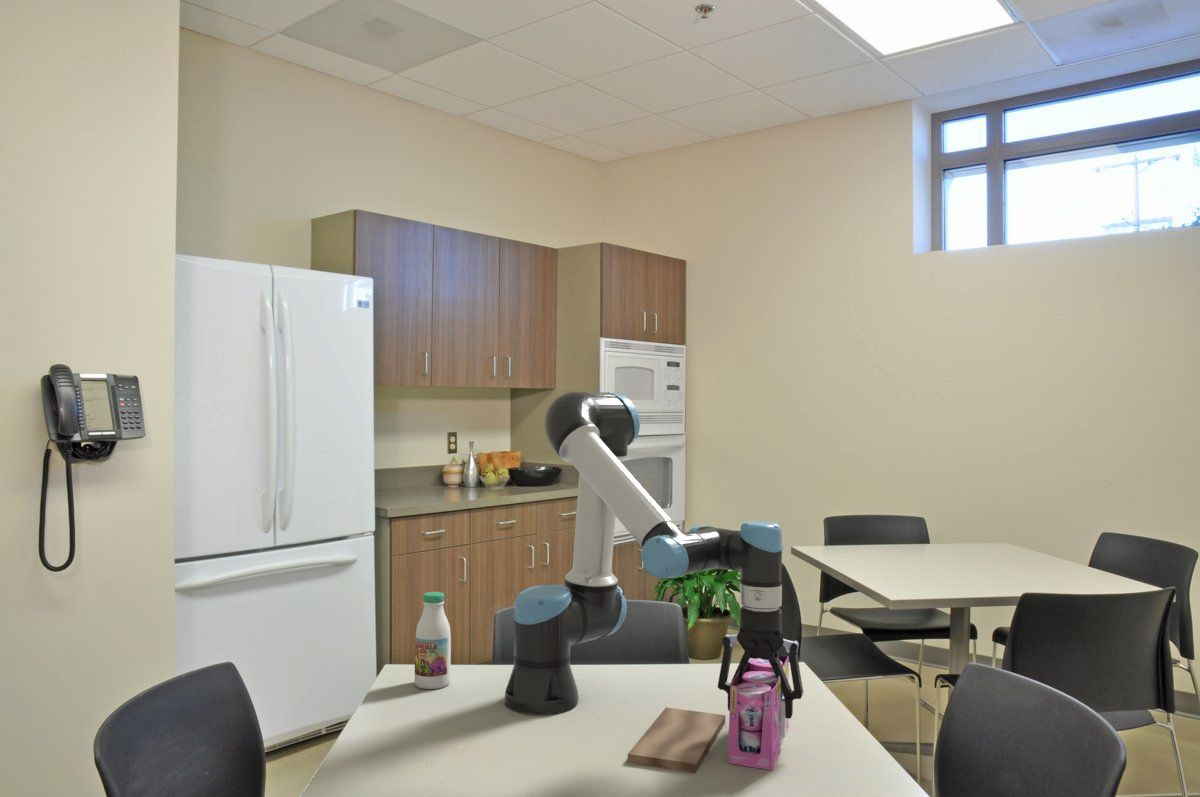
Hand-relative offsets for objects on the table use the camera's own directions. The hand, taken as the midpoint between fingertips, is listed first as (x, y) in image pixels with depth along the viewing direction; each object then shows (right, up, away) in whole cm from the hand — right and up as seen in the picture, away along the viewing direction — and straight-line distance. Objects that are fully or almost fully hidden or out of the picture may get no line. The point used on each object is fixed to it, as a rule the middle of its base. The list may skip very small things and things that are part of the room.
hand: (759, 731), depth 157 cm
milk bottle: (-66, -2, +32) cm, 73 cm away
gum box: (0, -3, 0) cm, 3 cm away
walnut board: (-15, -2, +1) cm, 15 cm away
